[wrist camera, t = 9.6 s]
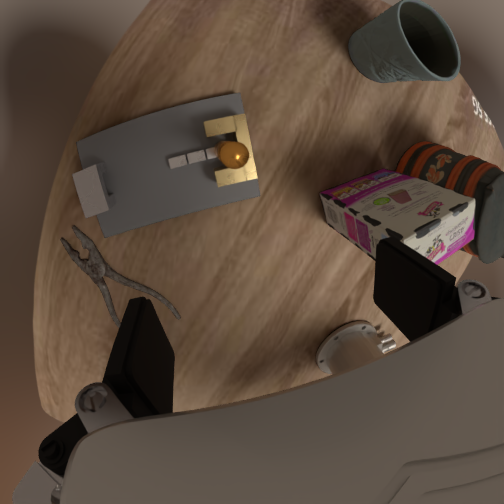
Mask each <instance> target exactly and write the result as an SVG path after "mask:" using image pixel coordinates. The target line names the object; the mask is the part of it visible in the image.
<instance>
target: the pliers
mask: <svg viewBox="0 0 504 504" xmlns="http://www.w3.org/2000/svg"><path fill="white" fill-rule="evenodd" d="M72 229H73V231H74V233H75V234H76V236H77V238H79V239H80V240H81V242H82V247H83V249H88V250H89V251H90V256H89V260H88V259H85V260H83V259H81V258H80V257H79V252H78V251H76V250H73V248H72V247H71V245H70V244H69V243H68V242H67V241H66V240H65V239H64V238H63V237H62V238H61V239H60V240H61V242H62V244H63V245H64V247H65V249H66V250H67V252H68V254H69V255H70V257H71V258H72V260H73V261H74V262H75V263H76V264H77V265H78V266H79V267H80V268H81V269H82V270H83V271H84V272H85V273H86V274H87V275H89V276H90V278H91V279H92V280H93V282H94V283H95V284H97V285H98V287H99V288H100V290H101V292H102V294H103V297H104V299H105V302H106V305H107V307H108V310H109V312H110V315H111V317H112V319H113V321H114V322H115V324H116V325H117V326H118V327H119V328H120V325H121V323H120V321H119V320H118V318H117V315H116V313H115V310H114V307H113V304H112V300H111V296H110V293H109V290H108V288H107V285H106V283H105V281H104V279H103V276H107V277H109V278H111V279H113V280H115V281H117V282H119V283H121V284H123V285H126V286H128V287H131V288H134V289H137V290H140V291H142V292H145V293H148V294H150V295H152V296H154V297H155V298H157V299H159V300H160V301H161V302H163V303H164V304H165V305H166V306H167V307H168V308H169V309H170V310H171V311H172V313H173V314H174V315H175V317H176V318H177V319H178V320H179V319H180V318H181V317H180V315H179V313H178V312H177V310H176V309H175V308H174V307H173V305H172V304H171V303H170V302H169V301H168V300H166V299H165V298H164V297H163V296H162V295H160V294H159V293H157V292H156V291H154V290H152V289H150V288H148V287H146V286H144V285H142V284H139V283H137V282H135V281H132V280H130V279H128V278H126V277H124V276H122V275H120V274H118V273H117V272H116V271H114V270H113V269H112V268H111V267H110V266H109V265H108V264H107V263H106V262H105V260H104V259H103V257H102V256H101V254H100V252H99V251H98V249H97V248H96V246H95V244H94V243H93V241H92V240H91V239H90V238H88V237H87V236H86V235H85V234H84V233H83V232H81V231H80V230H79V229H78V228H77V227H76V226H75V225H74V226H73V227H72Z"/></svg>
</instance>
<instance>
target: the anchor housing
mask: <svg viewBox="0 0 504 504" xmlns="http://www.w3.org/2000/svg"><path fill="white" fill-rule="evenodd" d="M106 172H108V171H107V167H106V163H105V162H102V163H99V164H95V165H93V166H91V167H88V168H86V169H83V170H81V171H79V172H76V173H74V174H72V176H73V179H74V183H75V186H76V190H77V193H78V196H79V199H80V203H81V206H82V209H83V212H84V215H85V218H88V217H91V216H94V215H97V214H100V213H102V212H105V211H108V210H110V209H111V208H112V207H113V206H114V205H116V204H117V202H116V198H115V195H114V194H111V195H108V194H107V190H106V187H105V184H104V180H103V176H102V174H103V173H106Z"/></svg>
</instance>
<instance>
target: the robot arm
mask: <svg viewBox="0 0 504 504" xmlns="http://www.w3.org/2000/svg"><path fill="white" fill-rule="evenodd" d="M455 281H456V277H454V276H453V275H451V274H450V273H448V272H447V271H446V270H444V269H443V268H441V267H440V266H438V265H437V264H435V263H434V262H432V261H431V260H429V259H428V258H426V257H424V256H423V255H421V254H420V253H418V252H417V251H415V250H414V249H412V248H410V247H409V246H407V245H406V244H404V243H402V242H401V241H399V240H397V239H396V238H394V237H388V238H384V239H381V240H380V241H379V243H378V244H377V246H376V263H375V281H374V294H373V299H374V302H375V304H376V305H377V306H378V307H379V308H380V309H381V310H382V311H383V312H384V314H385V315H386V316H387V317H388V318H389V319H390V320H391V321H392V322H393V323H394V324H395V325H396V326H397V328H398V329H399V330H400V331H401V332H402V333H403V334H404V335H405V336H406V337H407V338H408V340H409V341H410V342H409V343H407V344H405V345H403V346H401V347H399V348H397V349H395V350H392V351H390V352H388V353H386V354H384V352H386V351H389V350H391V349H393V348H395V347H396V343H395V341H394V340H393V339H392V336H391V334H390V333H389V334H387V335H385V336H383V337H381V338H380V337H377V331H376V329H375V328H374V327H373V326H372V325H371V324H370V323H368V322H365V321H356V322H352V323H349V324H346V325H344V326H342V327H340V328H338V329H337V330H335V331H334V332H333V333H331V334H330V335H329V336H328V337H327V338H326V339H325V340H324V341H323V343H322V344H321V345H320V347H319V349H318V351H317V355H316V362H317V365H318V367H319V369H320V370H321V371H323V372H325V373H328V374H332V375H330V376H327V377H324V378H321V379H318V380H315V381H312V382H309V383H306V384H303V385H299V386H296V387H293V388H289V389H286V390H282V391H279V392H275V393H271V394H267V395H263V396H259V397H255V398H251V399H247V400H242V401H238V402H233V403H228V404H223V405H217V406H212V407H207V408H201V409H195V410H189V411H182V412H175V413H173V382H174V361H175V356H174V351H173V349H172V346H171V344H170V342H169V340H168V338H167V336H166V334H165V332H164V329H163V327H162V325H161V323H160V321H159V318H158V316H157V314H156V311H155V309H154V307H153V304H152V302H151V300H150V299H147V300H146V298H145V297H138V298H134V299H130V300H129V303H128V305H127V308H126V311H125V314H124V316H123V319H122V322H121V325H120V328H119V331H118V334H117V337H116V339H115V342H114V345H113V348H112V351H111V354H110V357H109V361H108V364H107V367H106V371H105V374H104V378H103V381H102V383H101V382H96V383H92V384H89V385H87V386H85V387H84V388H83V389H82V390H81V391H80V392H79V393H78V395H77V397H76V400H75V408H76V411H77V414H76V415H74V416H73V417H72V418H70V419H69V420H68V421H67V422H65V423H64V424H63V425H62V426H60V427H59V428H58V429H56V430H55V431H54V432H52V433H51V434H50V435H49V436H47V437H46V438H45V439H44V440H43V441H42V443H41V445H40V447H39V459H40V462H39V463H38V462H36V461H35V462H34V463H33V465H32V466H31V467H30V469H29V470H28V471H27V473H26V474H25V476H24V477H23V478H22V480H21V481H20V483H19V484H18V486H17V487H16V489H15V490H14V492H13V498H12V500H13V504H504V298H495V297H491V296H490V293H489V290H488V289H487V287H486V286H485V285H484V284H482V283H480V282H478V281H476V280H463V281H462V282H460V283H459V284H458V287H455V286H454V285H455Z"/></svg>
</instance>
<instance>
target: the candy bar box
mask: <svg viewBox="0 0 504 504" xmlns="http://www.w3.org/2000/svg"><path fill="white" fill-rule="evenodd" d="M320 198H321V201H322V204H323V208H324V212H325V217H326V221H327V224H328V225H329V226H330V227H332V228H333V229H334V230H336V231H337V232H338V233H340V234H341V235H343V236H344V237H345V238H346V239H348V240H349V241H351V242H352V243H353V244H354V245H356V246H357V247H358V248H360V249H361V250H362V251H364V252H365V253H366V254H367V255H368V256H370V257H371V258H372V259H373V260H375V261H376V246H377V244H378V243H379V241H380V240H381V239H384V238H388V237H394V238H396V239H397V240H399V241H401V242H402V243H404V244H406V245H407V246H409V247H410V248H412V249H414V250H415V251H417V252H418V253H420V254H421V255H423V256H424V257H426V258H428V259H429V260H431V261H432V262H434V263H435V264H437V265H438V264H439V263H441V262H442V261H444V260H445V259H447V258H448V257H449V256H451V255H452V254H454V253H455V252H457V251H458V250H459V249H461V248H462V247H463V246H465V245H466V244H467V243H469V242H470V241H472V240H473V239H474V230H475V198H471V197H469V196H466V195H464V194H461V193H458V192H456V191H453V190H450V189H448V188H445V187H442V186H439V185H436V184H433V183H431V182H428V181H424V180H421V179H418V178H415V177H412V176H409V175H405V174H402V173H398V172H395V171H391V170H388V169H381V170H378V171H376V172H373V173H371V174H368V175H365V176H362V177H360V178H357V179H355V180H352V181H349V182H347V183H344V184H341V185H339V186H336V187H334V188H331V189H328V190H326V191H323V192H321V193H320Z"/></svg>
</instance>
